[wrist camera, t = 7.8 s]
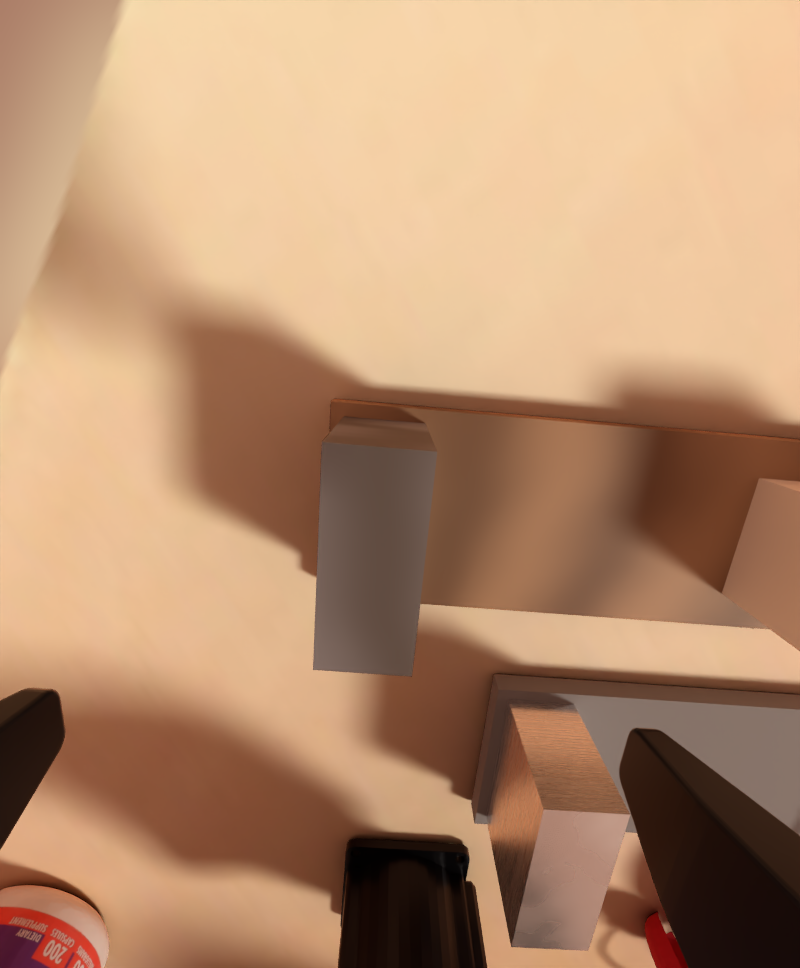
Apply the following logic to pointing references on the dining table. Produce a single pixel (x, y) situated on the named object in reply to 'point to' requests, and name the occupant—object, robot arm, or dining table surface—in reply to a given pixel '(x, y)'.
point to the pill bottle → (49, 930)
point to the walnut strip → (523, 522)
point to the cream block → (770, 560)
